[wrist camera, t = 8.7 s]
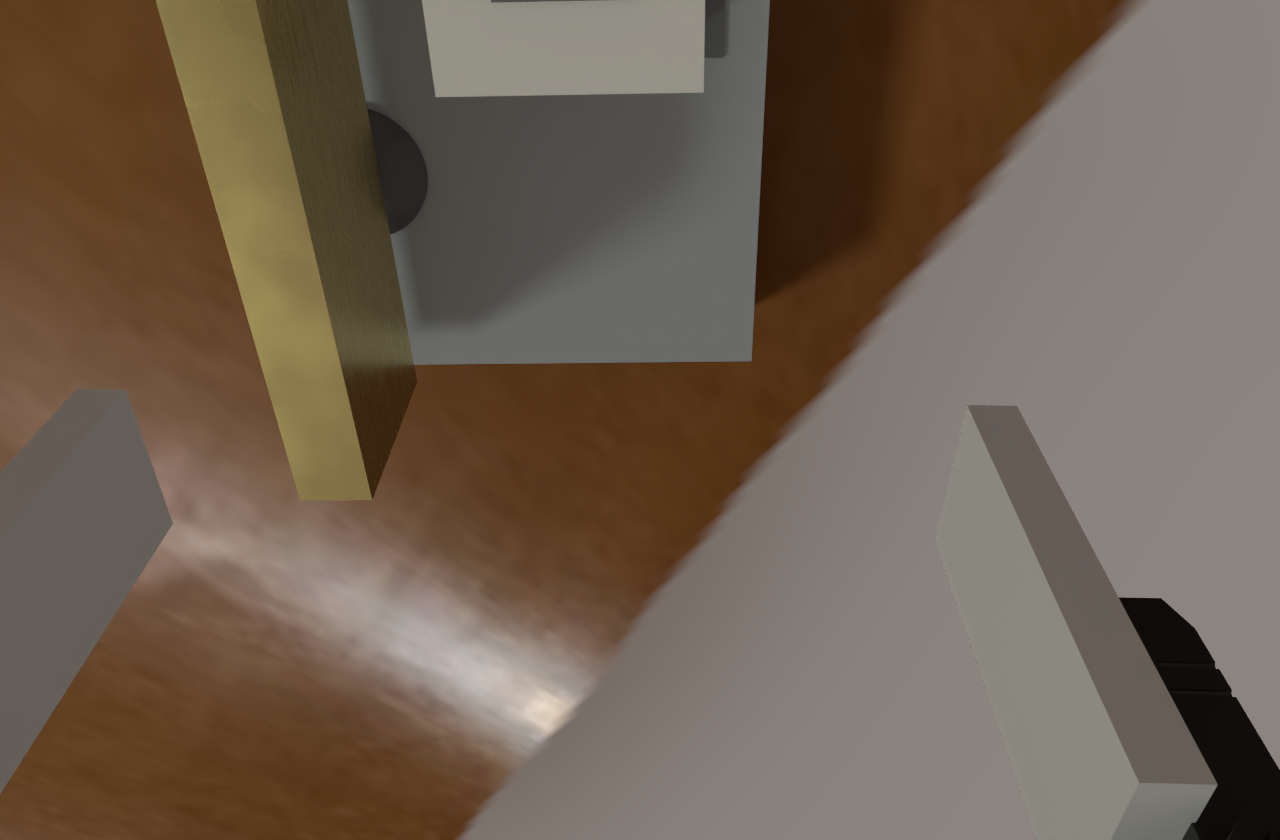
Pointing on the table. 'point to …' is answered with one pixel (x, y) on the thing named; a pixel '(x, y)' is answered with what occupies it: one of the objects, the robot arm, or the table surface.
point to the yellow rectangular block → (302, 225)
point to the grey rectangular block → (565, 47)
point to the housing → (570, 204)
